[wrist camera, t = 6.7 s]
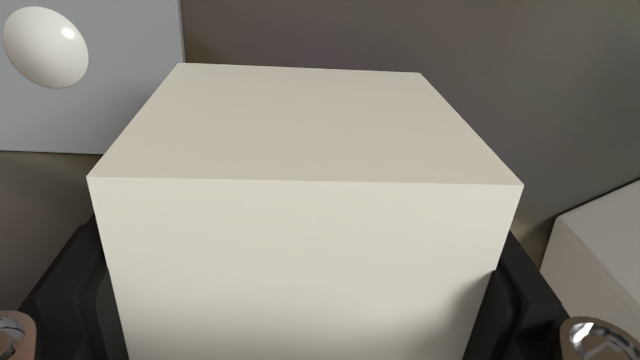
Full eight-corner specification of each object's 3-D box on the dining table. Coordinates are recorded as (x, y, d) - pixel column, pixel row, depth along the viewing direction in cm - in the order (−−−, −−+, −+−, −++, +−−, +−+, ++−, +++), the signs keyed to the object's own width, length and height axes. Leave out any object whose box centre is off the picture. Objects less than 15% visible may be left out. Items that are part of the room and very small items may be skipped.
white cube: (419, 72, 11) (524, 185, 6) (387, 256, 14) (441, 429, 9) (178, 62, 11) (85, 177, 6) (197, 255, 14) (148, 438, 9)
